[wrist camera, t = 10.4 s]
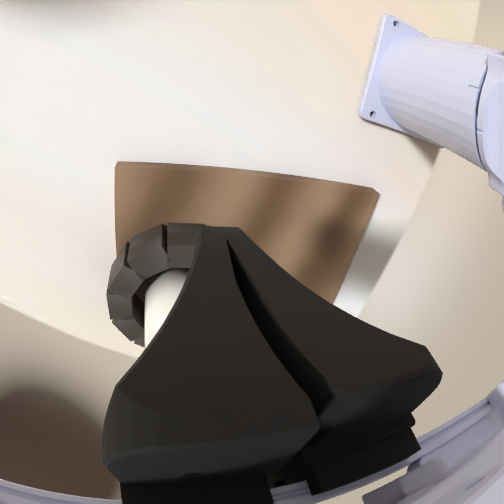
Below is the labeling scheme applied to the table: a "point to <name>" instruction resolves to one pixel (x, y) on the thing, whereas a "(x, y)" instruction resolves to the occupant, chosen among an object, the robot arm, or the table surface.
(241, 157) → the table surface
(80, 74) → the table surface
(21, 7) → the table surface
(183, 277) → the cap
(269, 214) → the socket board
